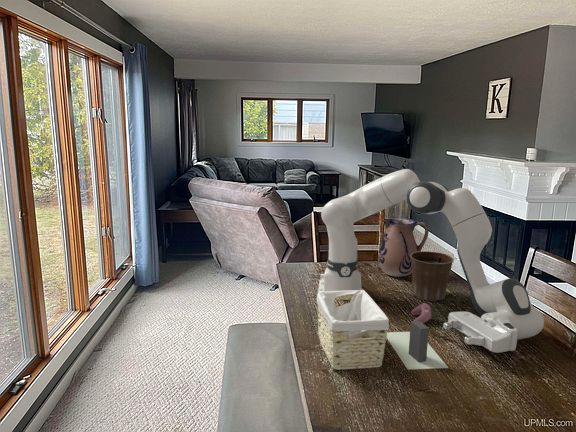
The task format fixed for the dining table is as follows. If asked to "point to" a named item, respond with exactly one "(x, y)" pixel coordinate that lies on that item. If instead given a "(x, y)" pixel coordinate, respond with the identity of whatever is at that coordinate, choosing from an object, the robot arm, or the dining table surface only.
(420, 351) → the domino
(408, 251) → the ceramic pitcher
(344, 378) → the dining table surface
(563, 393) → the dining table surface
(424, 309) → the video game controller
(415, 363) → the mat
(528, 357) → the dining table surface
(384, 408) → the dining table surface
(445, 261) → the plant pot
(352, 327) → the storage basket
